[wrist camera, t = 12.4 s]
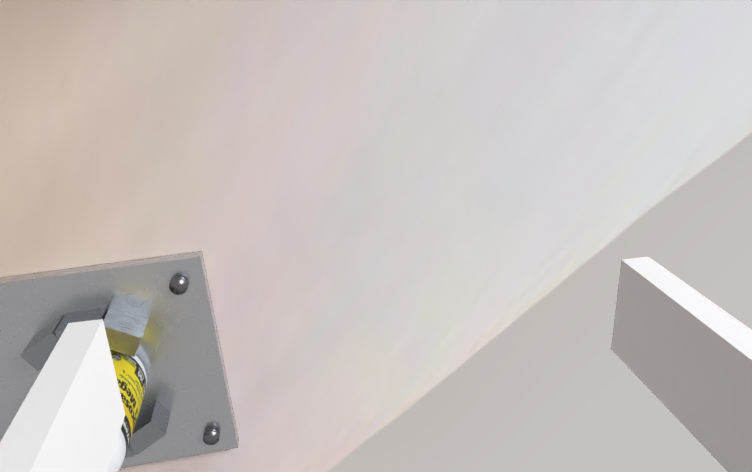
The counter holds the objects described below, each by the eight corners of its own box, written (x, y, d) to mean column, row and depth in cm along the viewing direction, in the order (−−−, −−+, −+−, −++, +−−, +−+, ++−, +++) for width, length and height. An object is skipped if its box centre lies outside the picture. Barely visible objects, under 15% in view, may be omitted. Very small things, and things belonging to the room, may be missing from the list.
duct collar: (-48, 284, 41) (-74, 308, 38) (201, 251, 43) (196, 271, 40) (22, 475, 47) (4, 511, 44) (238, 438, 49) (236, 470, 46)
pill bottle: (166, 387, 45) (137, 502, 35) (90, 426, 45) (39, 551, 35) (115, 321, 43) (68, 424, 33) (35, 362, 43) (-36, 477, 33)
